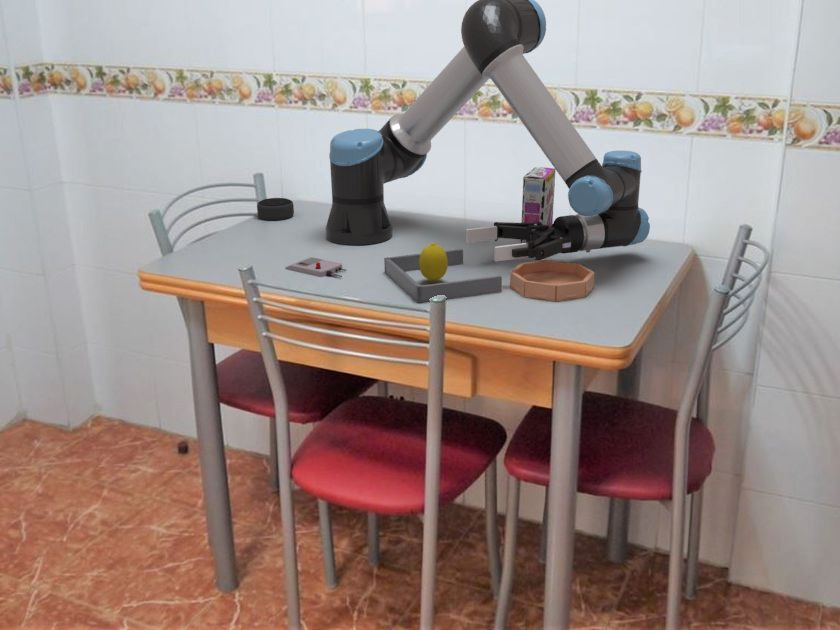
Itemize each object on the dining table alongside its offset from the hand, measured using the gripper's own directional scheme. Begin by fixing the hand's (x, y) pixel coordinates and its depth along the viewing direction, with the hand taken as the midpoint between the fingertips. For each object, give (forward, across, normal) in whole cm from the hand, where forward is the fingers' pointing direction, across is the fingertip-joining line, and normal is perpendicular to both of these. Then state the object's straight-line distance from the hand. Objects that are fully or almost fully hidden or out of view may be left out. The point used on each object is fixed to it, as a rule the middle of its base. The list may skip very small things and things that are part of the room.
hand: (480, 244), depth 181 cm
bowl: (-10, -11, -7) cm, 16 cm away
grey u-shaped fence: (+8, 0, -6) cm, 10 cm away
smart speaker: (+28, +62, -6) cm, 68 cm away
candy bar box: (-20, +15, -7) cm, 26 cm away
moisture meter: (+29, +17, -7) cm, 34 cm away
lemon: (+10, 0, -7) cm, 12 cm away
